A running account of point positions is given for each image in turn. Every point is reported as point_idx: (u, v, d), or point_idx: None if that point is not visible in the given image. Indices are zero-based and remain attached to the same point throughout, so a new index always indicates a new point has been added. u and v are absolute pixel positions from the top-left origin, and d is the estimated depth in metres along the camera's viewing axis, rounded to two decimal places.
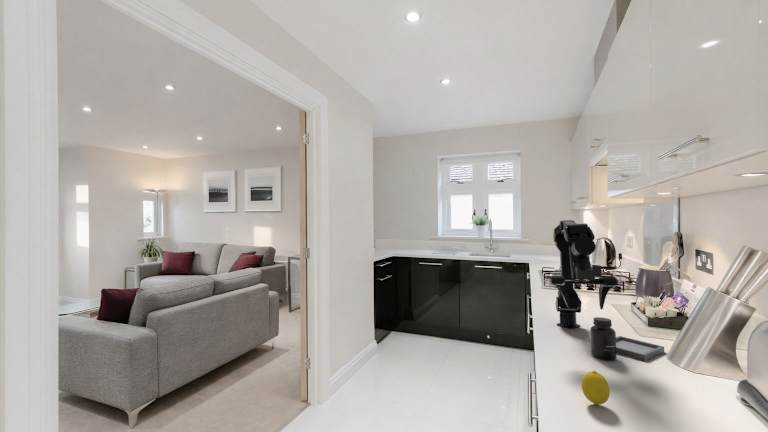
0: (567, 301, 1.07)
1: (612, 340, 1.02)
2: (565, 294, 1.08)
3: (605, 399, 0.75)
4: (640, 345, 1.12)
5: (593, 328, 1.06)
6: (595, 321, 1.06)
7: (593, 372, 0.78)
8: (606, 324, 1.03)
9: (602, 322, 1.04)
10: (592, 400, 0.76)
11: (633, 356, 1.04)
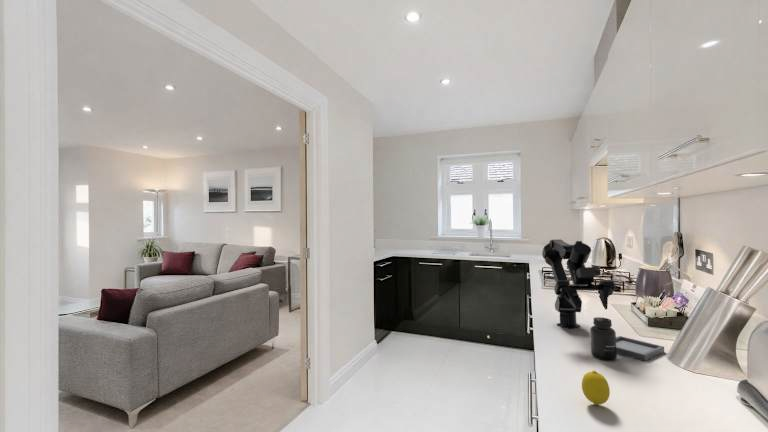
0: (574, 302, 1.15)
1: (612, 340, 1.02)
2: (571, 295, 1.17)
3: (605, 399, 0.75)
4: (640, 345, 1.12)
5: (593, 328, 1.06)
6: (595, 321, 1.06)
7: (593, 372, 0.78)
8: (606, 324, 1.03)
9: (602, 322, 1.04)
10: (592, 400, 0.76)
11: (633, 356, 1.04)
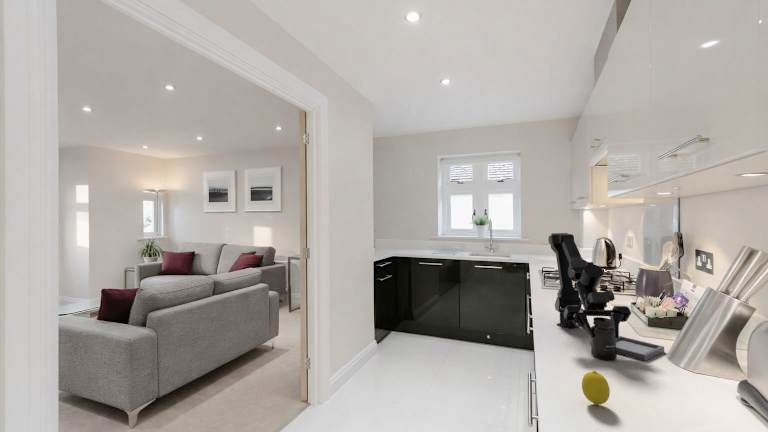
0: (590, 329, 1.06)
1: (612, 339, 1.02)
2: (586, 323, 1.07)
3: (605, 399, 0.75)
4: (640, 345, 1.12)
5: (593, 328, 1.06)
6: (595, 321, 1.06)
7: (593, 372, 0.78)
8: (606, 324, 1.03)
9: (602, 322, 1.04)
10: (592, 400, 0.76)
11: (633, 356, 1.04)
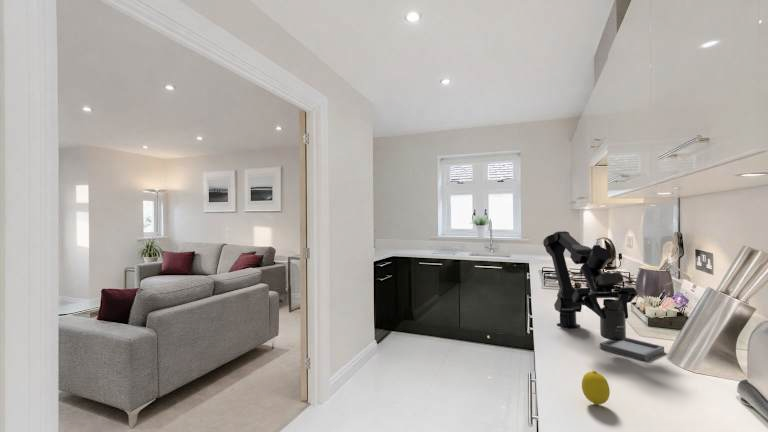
0: (601, 311, 1.07)
1: (623, 320, 1.04)
2: (597, 304, 1.08)
3: (605, 399, 0.75)
4: (640, 345, 1.12)
5: (604, 309, 1.07)
6: (606, 302, 1.07)
7: (593, 372, 0.78)
8: (617, 305, 1.05)
9: (613, 303, 1.05)
10: (592, 400, 0.76)
11: (633, 356, 1.04)
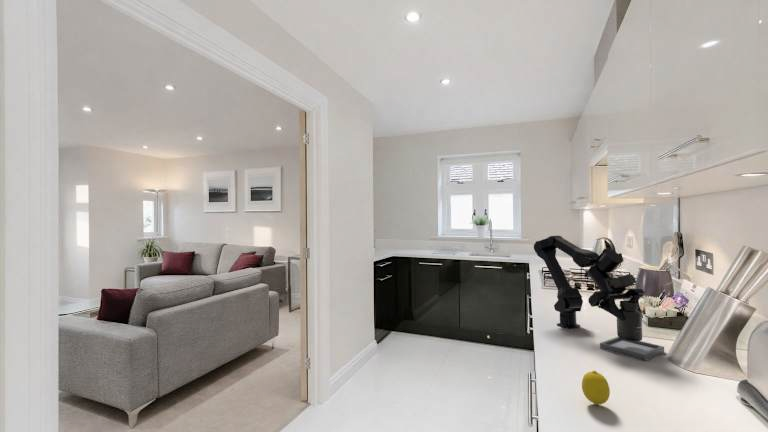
0: (620, 313, 1.09)
1: (641, 320, 1.08)
2: (616, 307, 1.10)
3: (605, 399, 0.75)
4: (640, 345, 1.12)
5: (623, 311, 1.09)
6: (624, 304, 1.10)
7: (593, 372, 0.78)
8: (635, 306, 1.08)
9: (632, 305, 1.08)
10: (592, 400, 0.76)
11: (633, 356, 1.04)
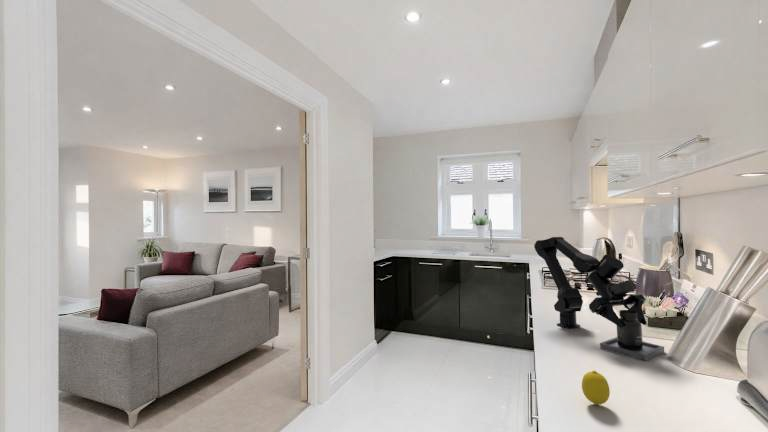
0: (619, 320, 1.09)
1: (641, 330, 1.07)
2: (614, 313, 1.10)
3: (605, 399, 0.75)
4: None
5: (622, 321, 1.09)
6: (624, 314, 1.10)
7: (593, 372, 0.78)
8: (635, 316, 1.08)
9: (632, 314, 1.08)
10: (592, 400, 0.76)
11: (633, 356, 1.04)
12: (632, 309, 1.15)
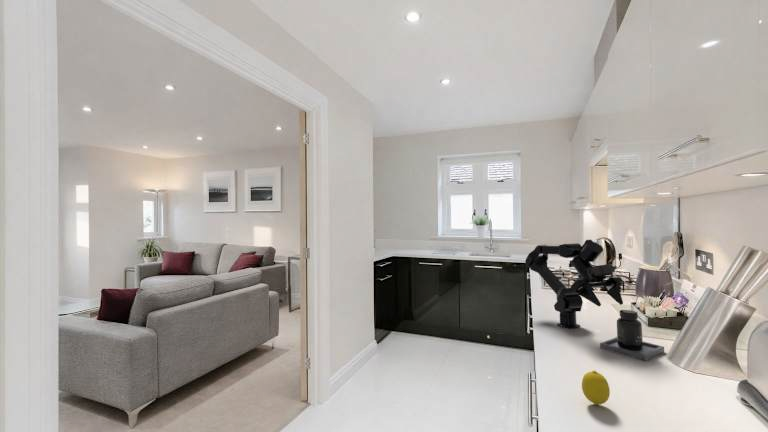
0: (597, 299, 1.17)
1: (641, 330, 1.07)
2: (593, 293, 1.18)
3: (605, 399, 0.75)
4: None
5: (623, 321, 1.09)
6: (624, 314, 1.10)
7: (593, 372, 0.78)
8: (635, 316, 1.08)
9: (632, 314, 1.08)
10: (592, 400, 0.76)
11: (633, 356, 1.04)
12: (611, 290, 1.23)
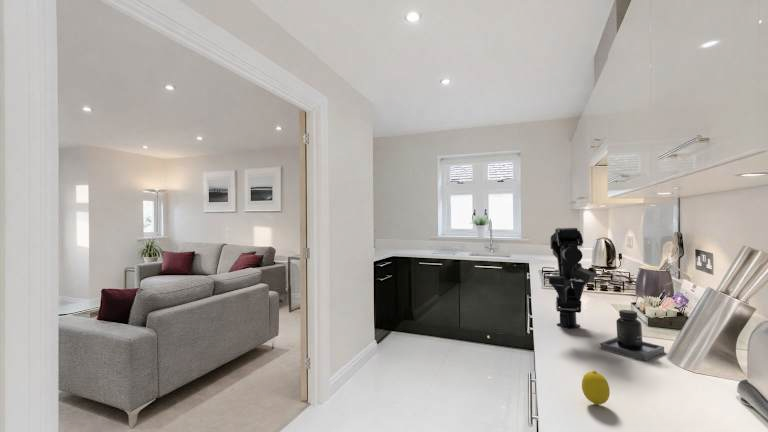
0: (565, 298, 1.23)
1: (641, 330, 1.07)
2: (565, 292, 1.23)
3: (605, 399, 0.75)
4: None
5: (622, 321, 1.09)
6: (624, 314, 1.10)
7: (593, 372, 0.78)
8: (635, 316, 1.08)
9: (632, 314, 1.08)
10: (592, 400, 0.76)
11: (633, 356, 1.04)
12: (576, 283, 1.30)
